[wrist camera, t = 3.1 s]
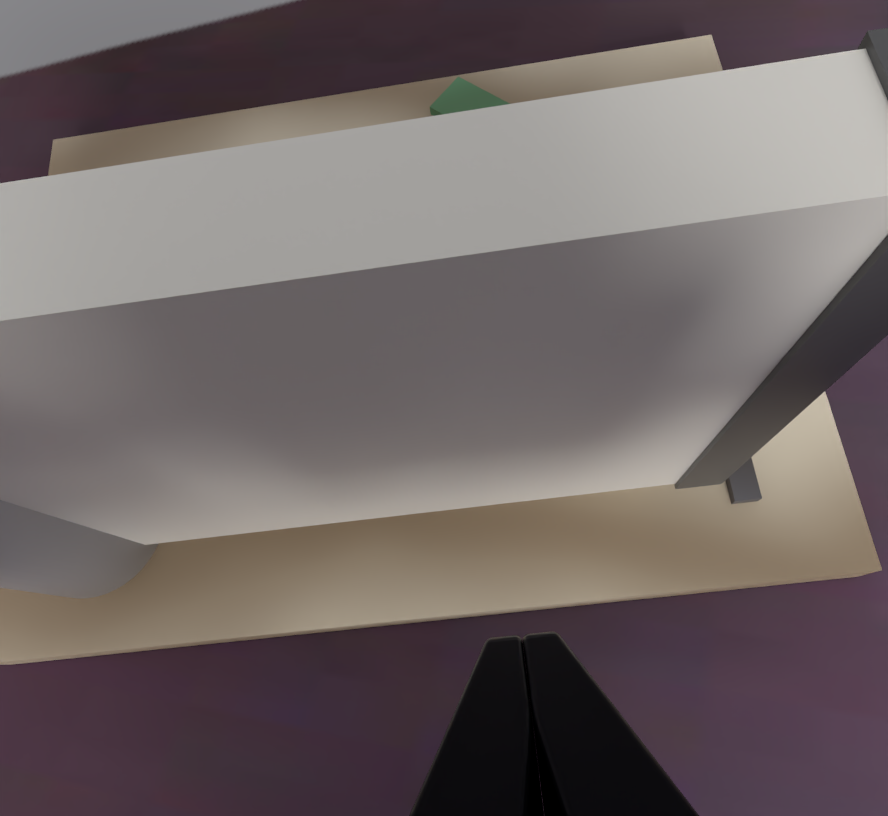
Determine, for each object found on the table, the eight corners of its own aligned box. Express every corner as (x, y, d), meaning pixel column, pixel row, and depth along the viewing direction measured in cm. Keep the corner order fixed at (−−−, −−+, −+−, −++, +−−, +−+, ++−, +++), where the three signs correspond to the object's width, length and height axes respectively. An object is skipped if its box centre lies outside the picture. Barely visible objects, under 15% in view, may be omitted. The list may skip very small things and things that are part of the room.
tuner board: (857, 576, 16) (888, 568, 15) (11, 664, 17) (-34, 664, 16) (701, 66, 22) (713, 25, 20) (76, 165, 23) (47, 133, 22)
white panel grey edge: (16, 605, 16) (-1123, 480, 5) (34, 461, 17) (-837, 103, 6) (726, 527, 15) (1320, 136, 4) (689, 379, 16) (1052, -237, 5)
